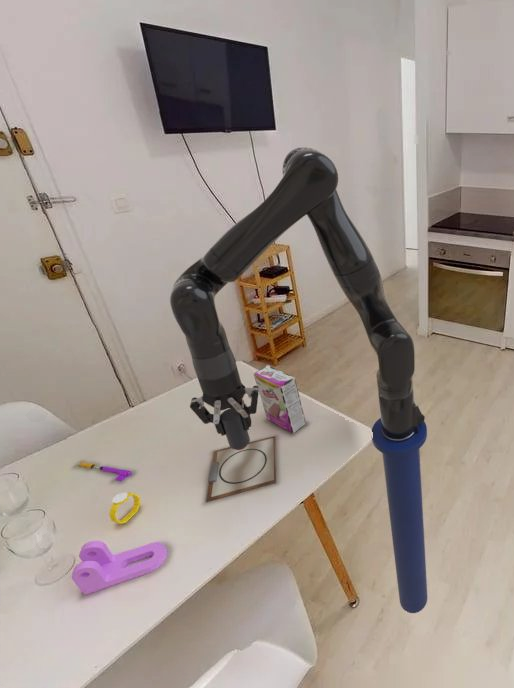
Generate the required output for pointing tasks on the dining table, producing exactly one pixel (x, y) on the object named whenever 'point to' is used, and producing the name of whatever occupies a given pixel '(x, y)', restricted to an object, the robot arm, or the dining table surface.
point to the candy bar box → (280, 398)
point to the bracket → (114, 565)
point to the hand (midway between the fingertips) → (235, 430)
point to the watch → (120, 500)
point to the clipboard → (242, 469)
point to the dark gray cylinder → (234, 429)
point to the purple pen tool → (109, 470)
